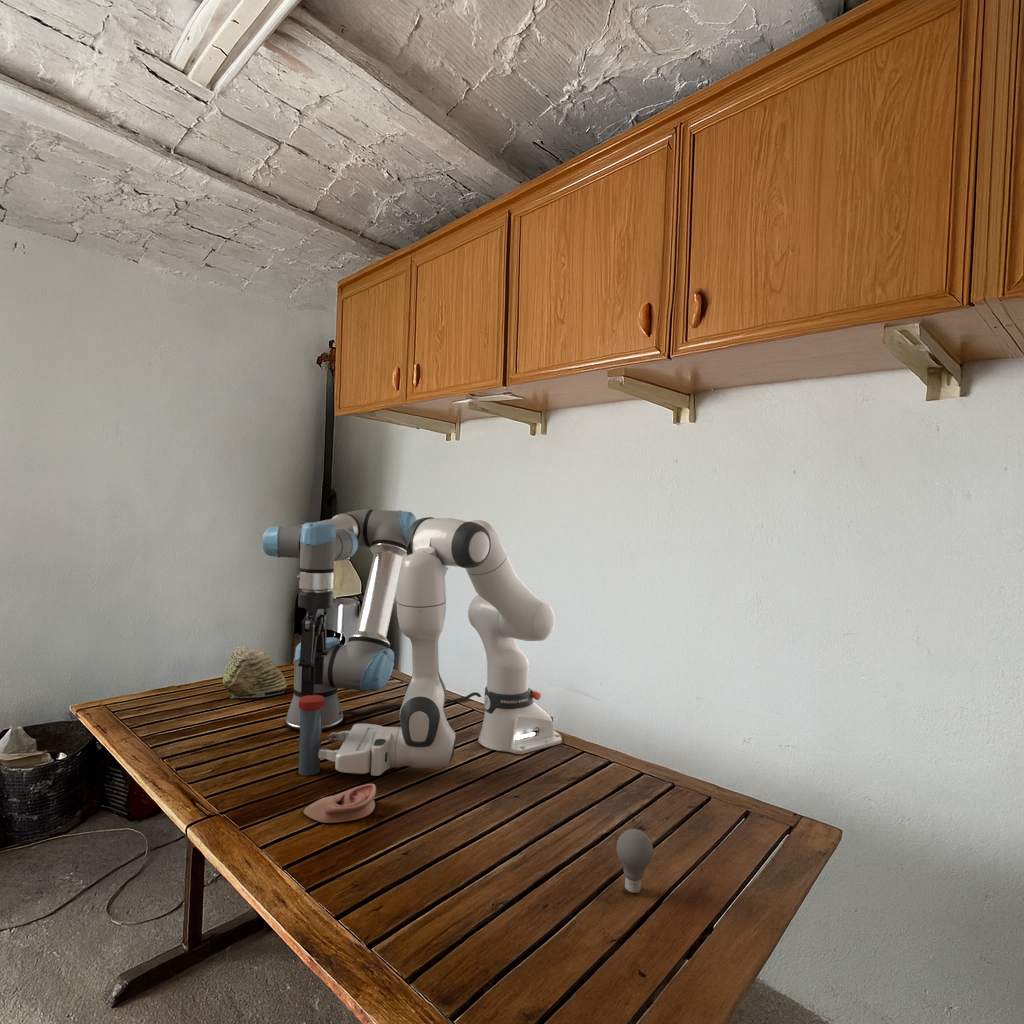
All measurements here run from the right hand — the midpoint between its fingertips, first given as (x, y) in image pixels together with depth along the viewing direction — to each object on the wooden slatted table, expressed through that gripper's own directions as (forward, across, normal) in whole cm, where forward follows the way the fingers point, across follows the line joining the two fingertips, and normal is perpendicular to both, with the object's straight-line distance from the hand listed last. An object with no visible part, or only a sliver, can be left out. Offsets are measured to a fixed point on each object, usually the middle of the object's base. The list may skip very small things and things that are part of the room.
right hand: (324, 745), depth 146 cm
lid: (+3, 0, -10) cm, 11 cm away
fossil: (+35, -54, +6) cm, 65 cm away
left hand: (+3, 0, -13) cm, 13 cm away
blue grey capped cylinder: (+3, 0, +6) cm, 7 cm away
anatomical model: (-8, +18, +6) cm, 20 cm away
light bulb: (-62, +43, +6) cm, 75 cm away
